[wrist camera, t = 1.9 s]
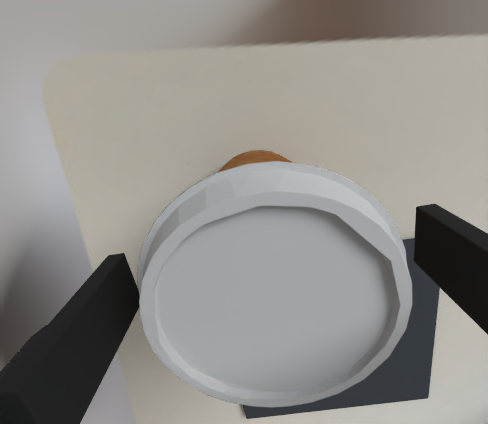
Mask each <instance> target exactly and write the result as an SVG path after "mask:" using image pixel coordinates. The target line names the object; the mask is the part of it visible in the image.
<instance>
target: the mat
mask: <svg viewBox="0 0 488 424" xmlns="http://www.w3.org/2000/svg"><path fill="white" fill-rule="evenodd" d="M402 241H403V244H404V247H405V250H406V260H407V267H408V270H409V274H410V277H411V281H412V308H411V312H410V316H409V319H408V323H407V327H406V330H405V332H404V334H403V335H402V337H401V338H400V340H399V342H398V343H397V345H396V346H395V348H394V350H393V351H392V353H391V354H390V356H389V357H388V358H387V359H386V360H385V361H384V362H383V363H382V364H381V365H379V366H378V367H377V368H376V369H375V370H374V371H373V372H372V373H371V374H370V375H368V376H367V377H366V378H365V379H364V380H362V381H360V382H358V383H356V384H355V385H353V386H351V387H349V388H347V389H346V390H344V391H342V392H340V393H338V394H336V395H333V396H330V397H327V398H324V399H320V400H317V401H314V402H311V403H306V404H299V405H293V406H285V407H257V406H248V405H243V408H244V411H245V415H246V418H247V419H251V418H260V417H268V416H277V415H286V414H295V413H303V412H312V411H321V410H329V409H338V408H347V407H356V406H364V405H373V404H382V403H391V402H399V401H408V400H417V399H426V398H428V395H429V385H430V376H431V366H432V356H433V347H434V337H435V328H436V318H437V308H438V299H439V289H440V287H439V286H438V285H437V284H436V283H435V282H434V281H433V280H432V279H431V278H430V277H429V276H428V275H427V274H426V273H425V272H424V271H423V270H422V269H421V268H420V267H419V266H418V265H417V264H416V263H415V262H414V244H415V238H413V239H406V240H402Z"/></svg>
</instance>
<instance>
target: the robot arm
mask: <svg viewBox="0 0 488 424" xmlns="http://www.w3.org/2000/svg"><path fill="white" fill-rule="evenodd" d="M414 262H415V263H416V264H417V265H418V266H419V267H420V268H421V269H422V270H423V271H424V272H425V273H426V274H427V275H428V276H429V277H430V278H431V279H432V280H433V281H434V282H435V283H436V284H437V285H438V286H439V287H440V288H441V289H442V290H443V291H444V292H445V293H446V294H447V295H448V296H449V297H450V298H451V299H452V300H453V301H454V302H455V303H456V304H457V305H458V306H459V307H460V308H461V309H462V310H463V311H464V312H465V313H466V314H468V315H469V316H470V317H471V318H472V319H473V320H474V321H475V322H476V323H477V324H478V325H479V326H480V327H481V328H482V329H483V330H484V331H485V332H486V333H487V334H488V234H487V233H485V232H484V231H482V230H480V229H478V228H477V227H475V226H473V225H471V224H470V223H468V222H466V221H464V220H463V219H461V218H459V217H457V216H455V215H454V214H452V213H450V212H448V211H447V210H445V209H443V208H441V207H440V206H438V205H436V204H430V205H424V206H418V207H416V224H415V244H414ZM139 300H140V296H139V290H138V288H137V285H136V283H135V280H134V278H133V275H132V273H131V270H130V267H129V265H128V262H127V260H126V257H125V255H124V253H122V254H115V255H109V256H107V258H106V259H105V260H104V261H103V262H102V263H101V265H100V266H99V267H98V268H97V269H96V270H95V271H94V273H93V274H92V275H91V276H90V277H89V278H88V279H87V281H86V282H85V283H84V284H83V285H82V286H81V288H80V289H79V290H78V291H77V292H76V293H75V295H74V296H73V297H72V298H71V299H70V300H69V301H68V303H67V304H66V305H65V306H64V307H63V308H62V310H61V311H60V312H59V313H58V314H57V315H56V316H55V317H54V319H53V320H52V321H51V322H50V323H49V324H48V325H46V326H45V327H44V328H42V329H41V330H40V331H38V332H37V333H36V334H34V335H33V336H32V337H31V338H30V339H29V340H28V341H27V342H26V343H25V345H24V346H23V347H22V348H21V349H20V352H17V354H16V355H15V356H14V357H13V358H12V360H10V363H8V364H7V365H6V366H5V367H4V368H3V369H2V370H1V371H0V424H80V422H81V420H82V418H83V416H84V414H85V412H86V410H87V408H88V406H89V405H90V403H91V401H92V399H93V397H94V395H95V393H96V391H97V389H98V387H99V385H100V383H101V381H102V379H103V377H104V375H105V373H106V371H107V369H108V367H109V365H110V363H111V361H112V359H113V358H114V356H115V354H116V352H117V350H118V348H119V346H120V344H121V342H122V340H123V338H124V336H125V334H126V332H127V330H128V328H129V326H130V324H131V322H132V320H133V318H134V316H135V314H136V312H137V310H138V308H139V307H140V304H139Z"/></svg>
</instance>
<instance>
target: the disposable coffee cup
mask: <svg viewBox="0 0 488 424" xmlns="http://www.w3.org/2000/svg"><path fill="white" fill-rule="evenodd" d="M137 284H138V290H139V296H140V300H139V304H140V317H141V321H142V325H143V330H144V333H145V335H146V337H147V340H148V342H149V344H150V346H151V348H152V349H153V351H154V352H155V354H156V355H157V356H158V358H159V359H160V360H161V362H162V363H163V364H164V365H165V366H166V367H167V368H168V369H170V370H171V371H172V372H173V373H175V374H176V375H177V376H178V377H179V378H181V379H182V380H183V381H184V382H186V383H187V384H188V385H189V386H191V387H193V388H195V389H197V390H199V391H201V392H203V393H205V394H207V395H209V396H212V397H215V398H217V399H220V400H223V401H226V402H231V403H236V404H242V405H248V406H257V407H285V406H293V405H299V404H306V403H311V402H314V401H317V400H320V399H324V398H327V397H330V396H333V395H336V394H338V393H340V392H342V391H344V390H346V389H347V388H349V387H351V386H353V385H355V384H356V383H358V382H360V381H362V380H364V379H365V378H366V377H367V376H368V375H370V374H371V373H372V372H373V371H374V370H375V369H376V368H377V367H378V366H379V365H381V364H382V363H383V362H384V361H385V360H386V359H387V358H388V357H389V356H390V354H391V353H392V351H393V350H394V348H395V346H396V345H397V343H398V342H399V340H400V338H401V337H402V335H403V334H404V332H405V330H406V327H407V323H408V319H409V316H410V312H411V308H412V281H411V277H410V274H409V270H408V267H407V260H406V250H405V247H404V244H403V241H402V238H401V235H400V232H399V230H398V227H397V226H396V224H395V223H394V221H393V220H392V218H391V217H390V215H389V213H388V212H387V210H386V209H385V208H384V207H383V206H382V205H381V204H380V203H379V202H378V201H377V200H376V199H375V198H374V197H373V196H372V195H371V194H370V193H369V192H367V191H366V190H364V189H363V188H361V187H360V186H358V185H357V184H356V183H354V182H353V181H351V180H350V179H348V178H346V177H344V176H341V175H339V174H337V173H334V172H332V171H329V170H326V169H323V168H320V167H317V166H314V165H306V164H298V163H293V162H291V161H289V160H287V159H285V158H283V157H282V156H280V155H278V154H275V153H273V152H269V151H262V150H259V151H250V152H246V153H243V154H240V155H238V156H236V157H234V158H233V159H232V160H230V161H229V162H228V163H227V164H226V165H225V166H224V167H223V168H222V169H221V170H220V171H219V172H218V173H215V174H212V175H210V176H208V177H207V178H205V179H203V180H202V181H200V182H198V183H197V184H195V185H193V186H191V187H190V188H188V189H187V190H185V191H184V192H183V193H182V194H181V195H179V196H178V197H177V198H176V199H175V200H174V201H173V202H171V203H170V204H169V205H168V206H167V207H166V209H165V210H164V211H163V212H162V213H161V215H160V216H159V217H158V219H157V220H156V221H155V223H154V224H153V226H152V228H151V230H150V232H149V234H148V236H147V238H146V240H145V242H144V244H143V246H142V251H141V255H140V260H139V264H138V283H137Z"/></svg>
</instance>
